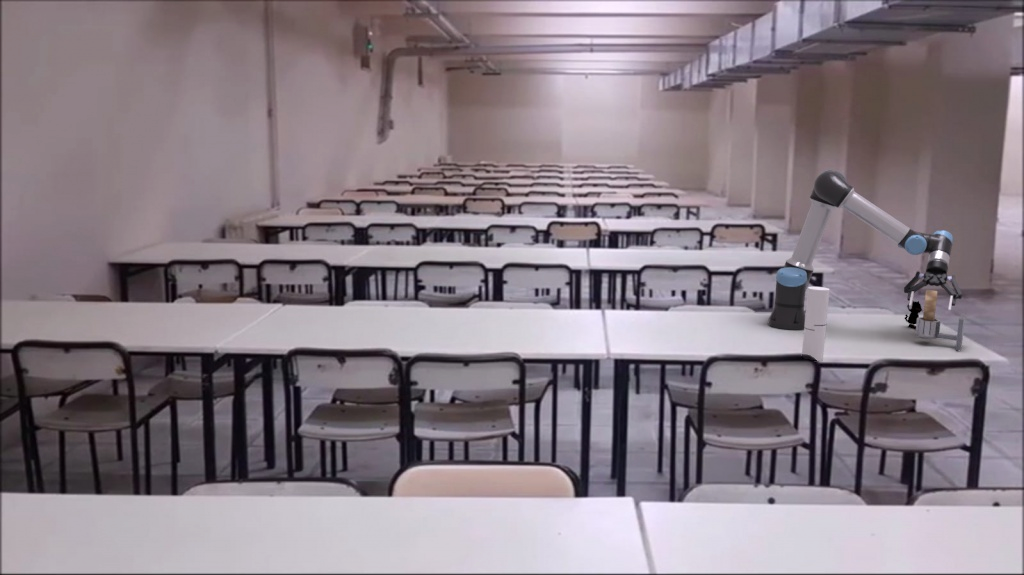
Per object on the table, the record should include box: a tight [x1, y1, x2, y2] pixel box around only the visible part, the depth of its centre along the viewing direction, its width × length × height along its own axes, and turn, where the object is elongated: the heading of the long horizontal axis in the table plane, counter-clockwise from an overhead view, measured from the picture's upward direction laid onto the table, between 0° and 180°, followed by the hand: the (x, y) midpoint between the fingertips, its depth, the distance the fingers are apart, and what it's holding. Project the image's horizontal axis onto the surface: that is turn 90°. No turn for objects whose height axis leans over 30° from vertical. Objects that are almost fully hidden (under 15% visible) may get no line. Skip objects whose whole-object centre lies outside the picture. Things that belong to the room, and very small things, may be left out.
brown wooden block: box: [922, 289, 938, 321], centre depth 344 cm, size 4×4×16 cm
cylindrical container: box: [801, 286, 830, 362], centre depth 315 cm, size 7×7×25 cm
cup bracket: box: [915, 313, 967, 351], centre depth 343 cm, size 16×12×12 cm
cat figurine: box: [904, 300, 924, 330], centre depth 374 cm, size 7×7×12 cm
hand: (929, 309), depth 342 cm, fingers open, 13 cm apart
